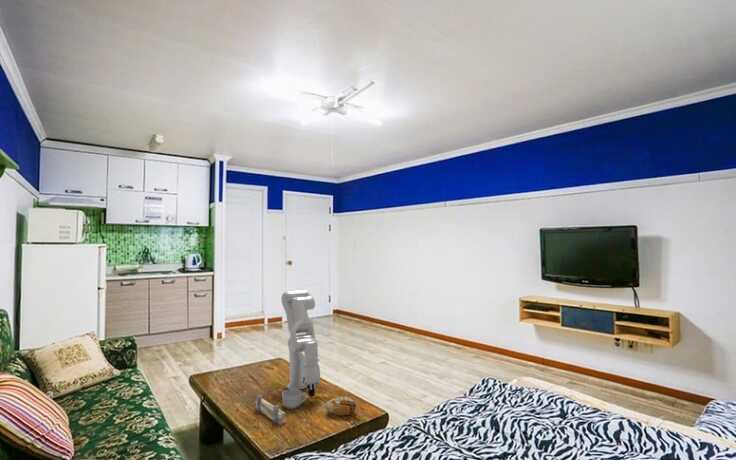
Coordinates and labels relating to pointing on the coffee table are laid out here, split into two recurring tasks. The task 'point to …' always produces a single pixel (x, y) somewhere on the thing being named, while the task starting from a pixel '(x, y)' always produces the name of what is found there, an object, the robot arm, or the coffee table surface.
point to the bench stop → (270, 410)
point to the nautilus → (341, 406)
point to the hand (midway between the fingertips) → (311, 395)
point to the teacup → (293, 398)
